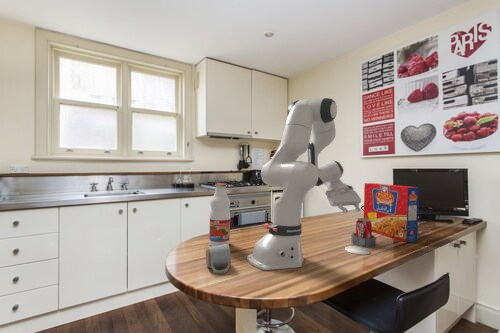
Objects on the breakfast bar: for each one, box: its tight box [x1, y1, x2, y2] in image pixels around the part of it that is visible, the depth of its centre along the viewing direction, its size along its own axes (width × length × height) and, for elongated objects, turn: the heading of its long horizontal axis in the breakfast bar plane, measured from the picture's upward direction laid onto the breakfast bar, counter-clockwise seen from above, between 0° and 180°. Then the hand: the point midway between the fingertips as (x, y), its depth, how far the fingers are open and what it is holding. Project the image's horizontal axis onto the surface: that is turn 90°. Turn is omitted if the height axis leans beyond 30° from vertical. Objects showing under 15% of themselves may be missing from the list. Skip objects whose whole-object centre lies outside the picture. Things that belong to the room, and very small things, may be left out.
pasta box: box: [363, 182, 420, 244], centre depth 141 cm, size 28×8×28 cm, turn 20°
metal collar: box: [350, 232, 377, 248], centre depth 123 cm, size 11×11×4 cm
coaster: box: [344, 245, 371, 256], centre depth 112 cm, size 10×10×1 cm
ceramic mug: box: [205, 244, 232, 275], centre depth 89 cm, size 11×8×8 cm
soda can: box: [355, 217, 373, 238], centre depth 123 cm, size 7×7×12 cm
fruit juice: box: [208, 182, 231, 247], centre depth 116 cm, size 9×9×28 cm
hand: (352, 211), depth 129 cm, fingers open, 8 cm apart
